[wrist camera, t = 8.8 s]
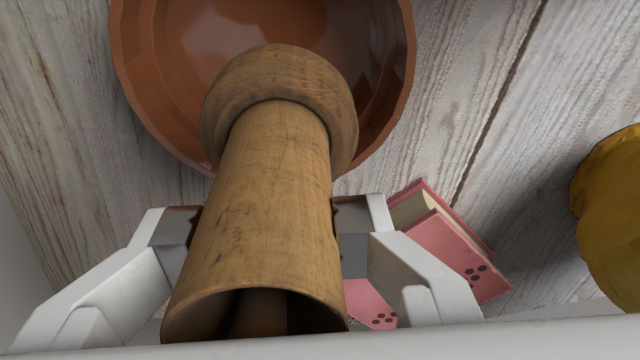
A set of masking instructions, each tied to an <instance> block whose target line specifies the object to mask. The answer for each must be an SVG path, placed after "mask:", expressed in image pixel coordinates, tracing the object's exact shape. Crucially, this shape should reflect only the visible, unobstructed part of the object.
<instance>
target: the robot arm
mask: <svg viewBox="0 0 640 360" xmlns="http://www.w3.org/2000/svg"><path fill="white" fill-rule="evenodd" d="M332 208H333V215H334V227H335V235H336V243H337V246H338V249H339V254H340V263H341V270H342V279H364V278H367V280H368V282H369V283H370V284H371V285H372V286H373V287H374V288H375V290H376V291H377V292H378V293H379V294H380V295H381V297H382V298H383V299H384V300H385V301H386V302H387V304H388V305H389V306H390V307H391V308H392V309H393V310H394V312H395V313H396V314H397V315H398V317H397V324H396V329H383V330H368V331H355V332H354V331H353V332H338V333H323V334H308V335H293V336H278V337H263V338H248V339H232V340H217V341H202V342H187V343H172V344H156V345H141V346H125V345H126V344H127V343H128V342H129V341H130V340H131V339H132V338H133V336H134V335H135V334H136V333H137V332H138V331H139V330H140V329H141V327H143V325H144V324H145V323H146V322H147V321H148V320H149V319H150V318H151V317H152V316H153V314H154V313H155V312H156V311H157V310H158V309H159V308H160V307H161V306H162V305H163V303H164V302H165V301H166V300H167V299H168V298H169V297H170V296H171V295H172V293H173V291H174V288H175V285H176V283H177V280H178V277H179V275H180V272H181V269H182V267H183V264H184V261H185V258H186V256H187V253H188V250H189V247H190V245H191V242H192V239H193V236H194V234H195V231H196V228H197V225H198V223H199V220H200V217H201V214H202V212H203V209H204V206H202V205H193V206H169V207H153V208H150V209H148V210H147V211H146V213H145V215H144V216H143V218H142V220H141V222H140V224H139V226H138V227H137V229H136V231H135V233H134V235H133V236H132V238H131V240H130V242H129V244H128V245H127V247H126V248H122V249H119V250H118V251H116V252H115V253H114V254H112V255H111V256H109V257H108V258H107V259H105V260H104V261H102V262H101V263H99V264H98V265H97V266H95V267H94V268H92V269H91V270H89V271H88V272H87V273H85V274H84V275H82V276H81V277H79V278H78V279H77V280H75V281H74V282H72V283H71V284H69V285H68V286H67V287H65V288H64V289H62V290H61V291H59V292H58V293H57V294H55V295H54V296H52V297H51V298H50V299H48V300H47V301H45V302H44V303H42V304H41V305H39V306H38V307H37V308H35V310H34V311H33V312H32V314H31V315H30V317H29V318H28V320H27V321H26V322H25V324H24V325H23V327H22V328H21V330H20V331H19V332H18V334H17V335H16V337H15V338H14V339H13V341H12V343H11V344H10V345H9V347H8V348H7V349H6V351H5V352H4V354H3V355H0V360H640V313H626V314H612V315H596V316H580V317H565V318H550V319H535V320H520V321H504V322H489V323H486V321H485V318H484V316H483V314H482V312H481V310H480V307H479V305H478V303H477V301H476V299H475V297H474V295H473V292H472V290H471V288H470V286H469V284H468V282H467V280H465V279H464V278H463V277H461V276H460V275H459V274H457V273H456V272H455V271H453V270H452V269H451V268H449V267H448V266H447V265H445V264H444V263H443V262H441V261H440V260H439V259H437V258H436V257H435V256H433V255H432V254H431V253H429V252H428V251H427V250H425V249H424V248H423V247H421V246H420V245H419V244H417V243H416V242H415V241H413V240H412V239H411V238H409V237H408V236H407V235H405V234H404V233H403V232H401V231H395V229H394V226H393V223H392V220H391V216H390V213H389V210H388V207H387V203H386V200H385V197H384V194H383V193H372V194H365V195H352V196H338V197H332Z"/></svg>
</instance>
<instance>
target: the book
mask: <svg viewBox="0 0 640 360" xmlns="http://www.w3.org/2000/svg"><path fill="white" fill-rule="evenodd" d="M386 203H387V207H388V210H389V213H390V216H391V220H392V223H393V226H394V229H395V231H401V232H403V233H404V234H405V235H407V236H408V237H409V238H411V239H412V240H413V241H415V242H416V243H417V244H419V245H420V246H421V247H423V248H424V249H425V250H427V251H428V252H429V253H431V254H432V255H433V256H435V257H436V258H437V259H439V260H440V261H441V262H443V263H444V264H445V265H447V266H448V267H449V268H451V269H452V270H453V271H455V272H456V273H457V274H459V275H460V276H461V277H463V278H464V279H465V280H467V282H468V284H469V286H470V288H471V290H472V292H473V295H474V297H475V299H476V301H477V303H478V305H481V304H483V303H485V302H487V301H489V300H491V299H493V298H495V297H497V296H500V295H502V294H504V293H506V292H508V291H510V290H512V289H514V287H513V285H512V284H511V282H510V281H509V280H508V279H507V278H506V277H505V276H504V275H503V274H502V273H501V272H500V271H499V270H498V269H497V268H496V267H495V266H494V265H493V264H492V263H491V262H490V258H492V257H494V256H495V255H494V253H493V251H492V250H491V249H490V248H489V247H488V246H487V245H486V244H485V243H484V242H483V241H482V240H481V239H480V238H479V237H478V236H477V234H476V233H475V232H474V231H473V230H472V229H471V228H470V227H469V226H468V225H467V224H466V223H465V222H464V221H463V220H462V219H461V218H460V217H459V216H458V215H457V214H456V213H455V212H454V211H453V210H452V208H451V207H450V206H449V205H448V204H447V203H446V202H445V201H444V200H443V199H442V198H441V197H440V196H439V195H438V194H437V193H436V192H435V191H434V190H433V189H432V188H431V187H430V186H429V185H428V183H427V182H426V181H425V180H424V179H423V178H422V177H421V178H419V179H418V180H417V181H415V182H414V183H412V184H411V185H409V186H408V187H406V188H405V189H403V190H402V191H401V192H399V193H398V194H396V195H395V196H393V197H392V198H390V199H389V200H387V201H386ZM343 286H344V294H345V302H346V310H347V313H348V314H349V315H351V316H353V317H354V318H356V319H357V320H359V321H361V322H362V323H364V324H366V325H367V326H369V327H370V328H372V329H373V330H383V329H396V324H397V317H398V315H397V314H396V313H395V312H394V310H393V309H392V308H391V307H390V306H389V305H388V304H387V302H386V301H385V300H384V299H383V298H382V297H381V295H380V294H379V293H378V292H377V291H376V290H375V288H374V287H373V286H372V285H371V284H370V283H369V282H368V280H367V278H364V279H343Z"/></svg>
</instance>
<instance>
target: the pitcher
mask: <svg viewBox="0 0 640 360" xmlns="http://www.w3.org/2000/svg"><path fill="white" fill-rule="evenodd" d="M580 166H581V167H579V170H578V171H577V173H576V174H575V176H574V178H573V179H574V180H573V181H572V182H571V184H570V185H569V198H570V199H569V200H570V201H569V206H571V207H570V208H569V210H572V213H573V214H574V216H575V217H578V218H580V221H579V223H578V225H577V228H576V239H577V245H578V249H579V253H580V257H581V258H582V259H583V260H584V261H585V262H586V263H587V266H588V269H589V271H590V273H591V275H592V277H593V278H594V280H595V282H596V284H597V285H598V287H599V288H600V290H601V291H602V292H603V293H604V294H605V295H606V296H607V297H608V298H609V299H610V300H611V301H612V302H613V303H614V304H615V305H616V306H618V307H619V308H621V309H622V310H623V311H624V312H626V313H640V123H639V124H635V125H632V126H630V127H627V128H624V129H623V130H621V131H620V132H619V131H618V132H617V133H616V134H613V135H612V136H611V137H608V138H606V139H605V140H604V141H601V143H598V145H597V146H596V147H595V148H594V149H593V150H592V154H590V155H589V157H588V158H587V159H586V160H585V161H584V163H583V164H581V165H580Z"/></svg>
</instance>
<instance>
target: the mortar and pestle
mask: <svg viewBox="0 0 640 360" xmlns="http://www.w3.org/2000/svg"><path fill="white" fill-rule="evenodd" d="M199 134H200V139H201V143H202V146H203V148H204V151H205V153H206V155H207V157H208V158H209V160H210V161H211V163H212V164H213V166H214V167H215V168H216V169H217V173H216V176H215V178H214V181H213V184H212V187H211V190H210V192H209V195H208V198H207V201H206V203H205V206H204V209H203V212H202V214H201V217H200V220H199V223H198V225H197V228H196V231H195V234H194V236H193V239H192V242H191V245H190V247H189V250H188V253H187V256H186V258H185V261H184V264H183V267H182V269H181V272H180V275H179V277H178V280H177V283H176V285H175V288H174V291H173V293H172V296H171V299H170V301H169V304H168V307H167V310H166V312H165V315H164V318H163V321H162V324H161V329H160V342H161V344H172V343H187V342H202V341H217V340H232V339H248V338H263V337H278V336H293V335H308V334H323V333H338V332H349V328H348V318H347V310H346V302H345V294H344V286H343V279H342V270H341V263H340V254H339V249H338V246H337V243H336V235H335V227H334V215H333V208H332V197H333V191H332V182H334V181H335V180H336V179H337V178H339V177H340V175H341V174H342V173H343V172H344V171H345V170H346V168H347V167H348V165H349V164H350V162H351V161H352V159H353V157H354V154H355V152H356V148H357V144H358V137H359V125H358V118H357V114H356V110H355V105H354V101H353V97H352V94H351V91H350V89H349V87H348V85H347V83H346V81H345V79H344V78H343V77H342V75H341V74H340V73H339V71H338V70H337V69H336V68H335V67H334V66H333V65H332V64H330V63H329V62H328V61H327V60H325V59H324V58H322V57H321V56H319V55H317V54H315V53H313V52H311V51H309V50H307V49H304V48H301V47H297V46H293V45H286V44H267V45H261V46H257V47H254V48H251V49H248V50H246V51H244V52H242V53H240V54H239V55H237V56H236V57H234V58H233V59H232V60H230V61H229V62H228V63H227V64H226V65H225V66H224V67H223V69H222V70H221V71H220V72H219V74H218V75H217V77H216V78H215V80H214V82H213V84H212V86H211V88H210V89H209V91H208V93H207V95H206V97H205V99H204V101H203V104H202V107H201V111H200V116H199Z"/></svg>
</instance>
